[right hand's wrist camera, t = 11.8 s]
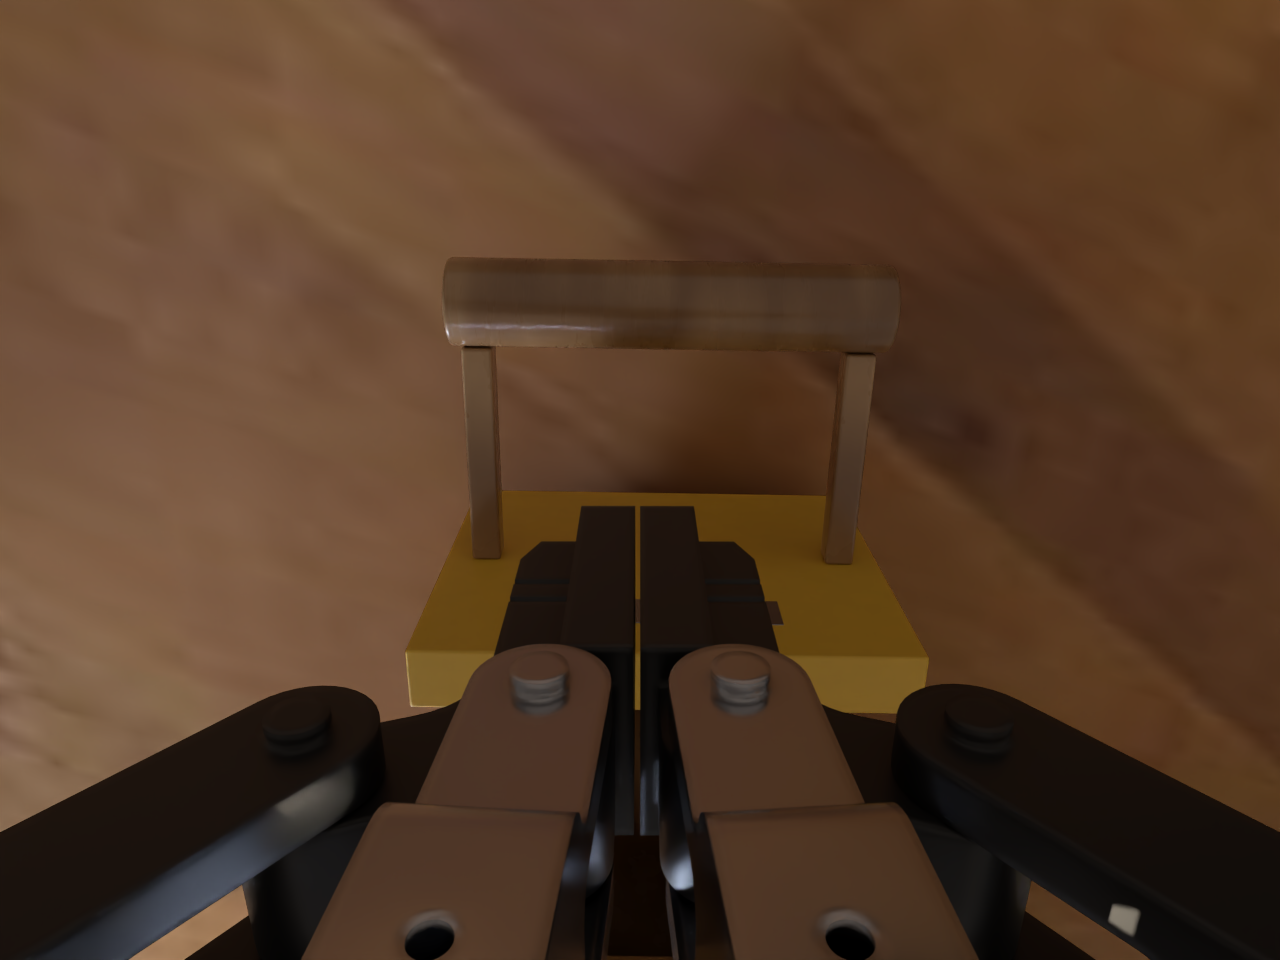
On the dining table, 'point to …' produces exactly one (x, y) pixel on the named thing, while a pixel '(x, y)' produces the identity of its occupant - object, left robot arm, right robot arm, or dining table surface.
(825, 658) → the drawer
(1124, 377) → the dining table surface
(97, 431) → the dining table surface
